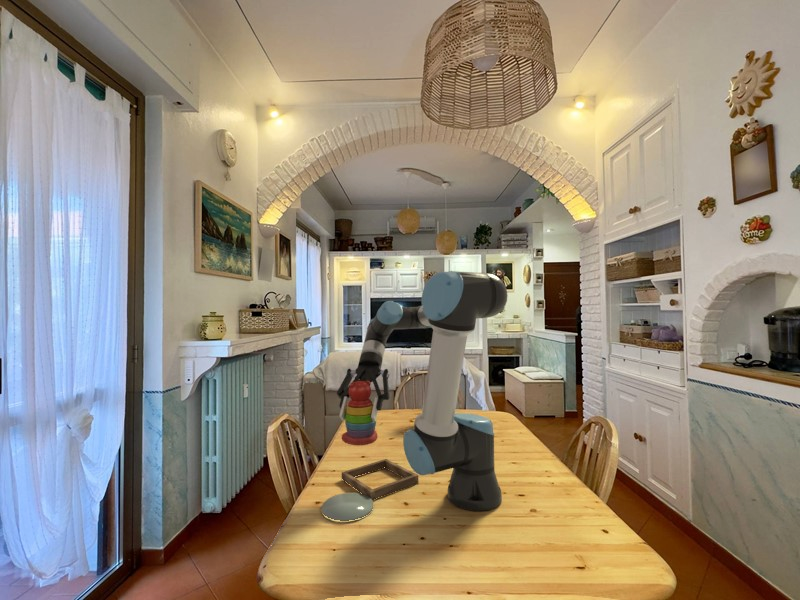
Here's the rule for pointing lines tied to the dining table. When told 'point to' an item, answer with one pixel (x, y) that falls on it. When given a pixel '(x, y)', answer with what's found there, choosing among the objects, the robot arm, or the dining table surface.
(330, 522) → the dining table surface
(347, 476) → the collar
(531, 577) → the dining table surface
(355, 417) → the stacking bear
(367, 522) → the dining table surface
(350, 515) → the pad
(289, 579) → the dining table surface
